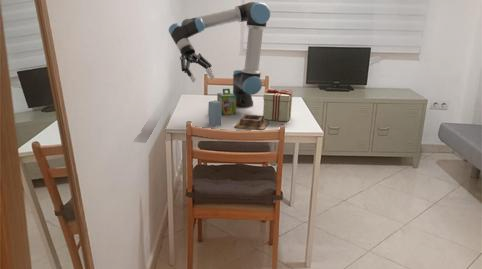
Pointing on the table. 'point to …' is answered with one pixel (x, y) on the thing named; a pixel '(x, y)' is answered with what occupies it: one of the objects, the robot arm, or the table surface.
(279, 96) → the gift box
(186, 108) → the table surface
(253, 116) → the cradle
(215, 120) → the block
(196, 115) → the table surface
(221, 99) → the chalk box
